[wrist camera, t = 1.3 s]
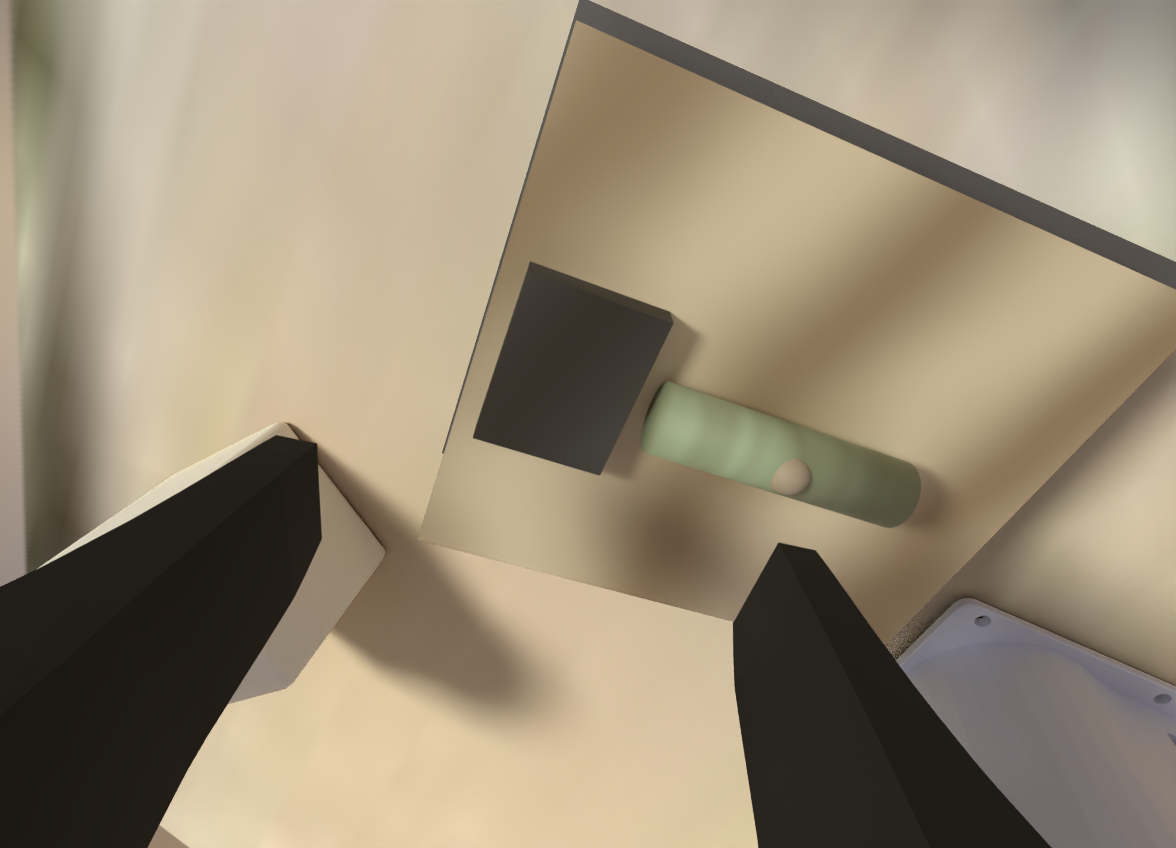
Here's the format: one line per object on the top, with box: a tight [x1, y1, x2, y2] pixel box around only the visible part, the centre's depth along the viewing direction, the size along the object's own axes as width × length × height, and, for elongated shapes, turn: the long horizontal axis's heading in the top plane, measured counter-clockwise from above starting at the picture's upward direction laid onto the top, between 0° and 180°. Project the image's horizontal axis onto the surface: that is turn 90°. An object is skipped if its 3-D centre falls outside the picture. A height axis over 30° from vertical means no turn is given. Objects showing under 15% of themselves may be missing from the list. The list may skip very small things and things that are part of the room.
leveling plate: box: [418, 20, 1176, 646], centre depth 14 cm, size 14×12×3 cm
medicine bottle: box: [39, 422, 385, 704], centre depth 21 cm, size 7×7×12 cm
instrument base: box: [442, 0, 1176, 454], centre depth 18 cm, size 15×13×3 cm
